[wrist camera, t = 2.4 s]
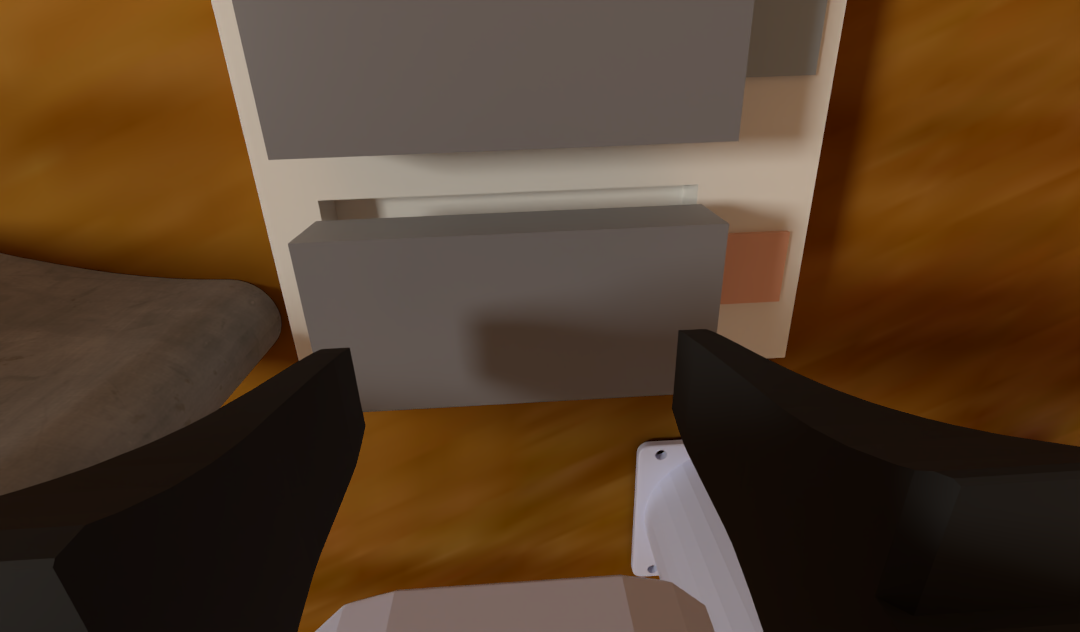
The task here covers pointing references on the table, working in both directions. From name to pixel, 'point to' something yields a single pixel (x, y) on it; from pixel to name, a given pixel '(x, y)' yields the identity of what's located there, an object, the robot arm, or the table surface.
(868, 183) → the table surface
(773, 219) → the switch unit
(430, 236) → the button
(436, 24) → the button middle
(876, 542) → the robot arm
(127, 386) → the hip flask
